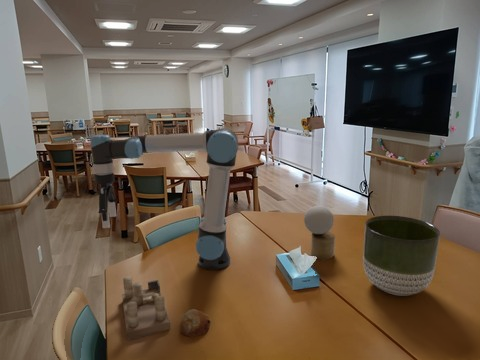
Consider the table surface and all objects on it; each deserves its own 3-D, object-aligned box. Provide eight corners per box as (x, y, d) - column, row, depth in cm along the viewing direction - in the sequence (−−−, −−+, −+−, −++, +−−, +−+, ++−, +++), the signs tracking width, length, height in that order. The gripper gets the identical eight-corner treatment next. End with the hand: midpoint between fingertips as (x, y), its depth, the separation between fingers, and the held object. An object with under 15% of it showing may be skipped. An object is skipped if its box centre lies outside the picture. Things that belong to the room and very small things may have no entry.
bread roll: (187, 327, 125) (176, 310, 123) (212, 315, 124) (202, 298, 122) (185, 347, 115) (173, 328, 113) (212, 333, 115) (201, 315, 113)
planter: (425, 277, 149) (433, 219, 143) (437, 313, 125) (447, 244, 118) (360, 268, 158) (364, 212, 151) (360, 300, 133) (365, 235, 127)
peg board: (122, 300, 135) (120, 276, 132) (158, 293, 140) (157, 269, 137) (127, 340, 113) (124, 311, 110) (170, 329, 118) (168, 301, 115)
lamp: (300, 257, 169) (301, 209, 163) (306, 246, 182) (307, 200, 176) (331, 262, 164) (334, 212, 158) (335, 250, 176) (338, 203, 170)
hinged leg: (158, 296, 132) (157, 278, 130) (159, 300, 129) (158, 282, 127) (134, 301, 129) (132, 283, 127) (135, 306, 126) (133, 287, 124)
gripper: (101, 167, 153) (106, 212, 158) (86, 180, 129) (93, 233, 134) (119, 166, 154) (123, 211, 159) (107, 179, 130) (113, 232, 135)
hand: (109, 221), depth 146 cm, fingers open, 13 cm apart
